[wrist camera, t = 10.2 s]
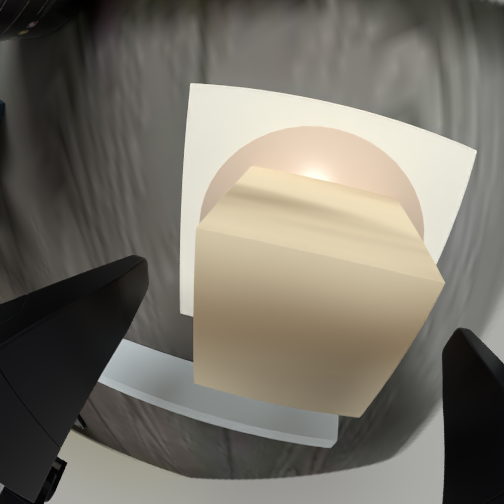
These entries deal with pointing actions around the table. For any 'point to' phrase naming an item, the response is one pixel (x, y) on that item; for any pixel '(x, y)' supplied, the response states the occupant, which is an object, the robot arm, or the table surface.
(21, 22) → the supplement bottle
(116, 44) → the table surface
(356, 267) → the maple block
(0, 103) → the watch
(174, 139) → the table surface
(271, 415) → the low wall
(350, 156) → the pad
